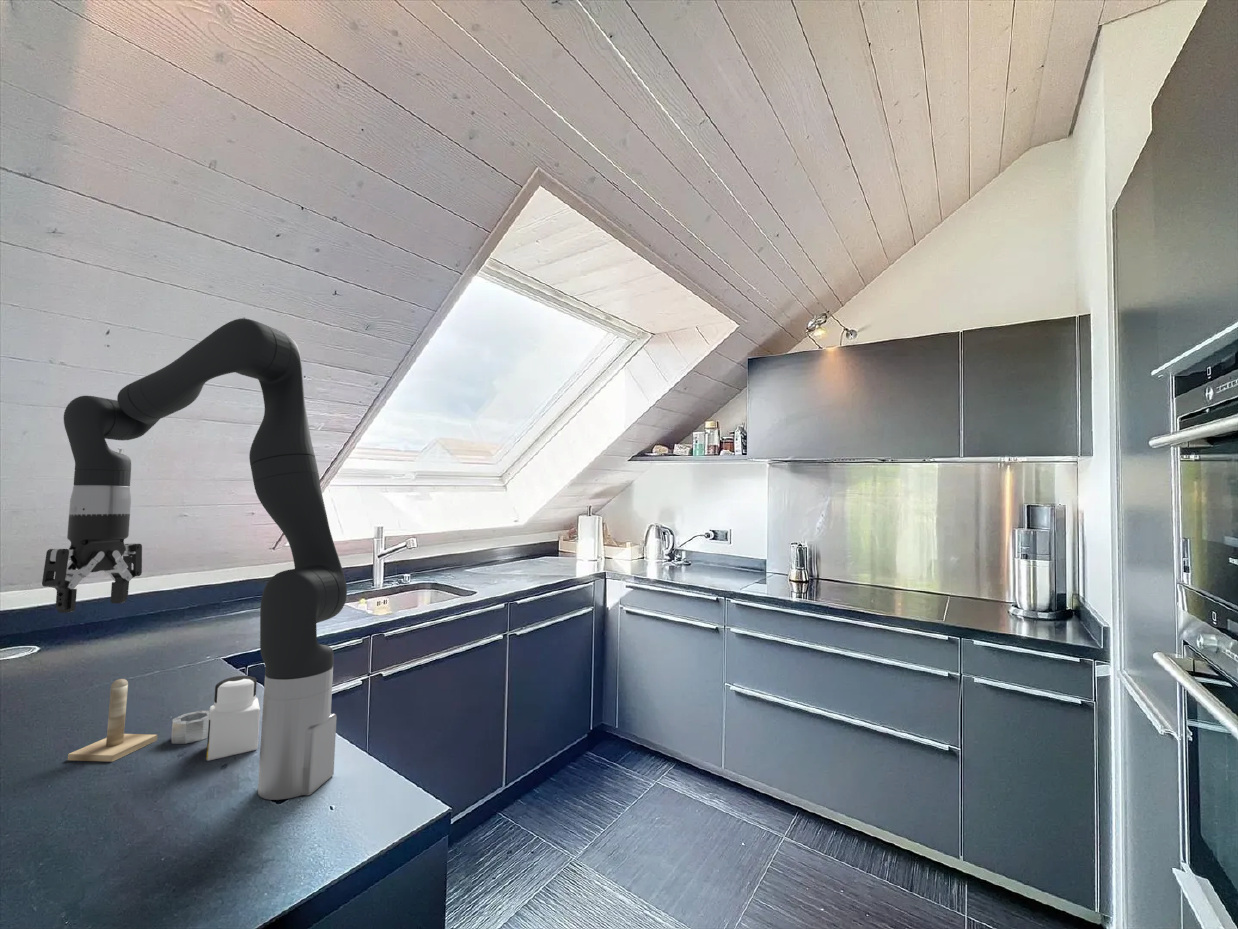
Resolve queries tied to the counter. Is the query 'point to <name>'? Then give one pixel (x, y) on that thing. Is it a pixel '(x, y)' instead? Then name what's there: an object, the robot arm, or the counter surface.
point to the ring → (190, 727)
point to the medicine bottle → (233, 718)
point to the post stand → (114, 732)
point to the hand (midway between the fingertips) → (93, 607)
